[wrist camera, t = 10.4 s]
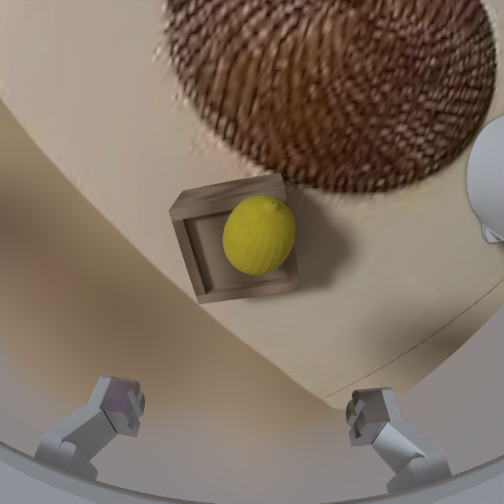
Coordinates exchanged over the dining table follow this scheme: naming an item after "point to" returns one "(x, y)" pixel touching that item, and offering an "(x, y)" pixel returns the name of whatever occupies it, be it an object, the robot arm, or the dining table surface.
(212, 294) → the walnut tray
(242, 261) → the lemon
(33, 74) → the dining table surface
